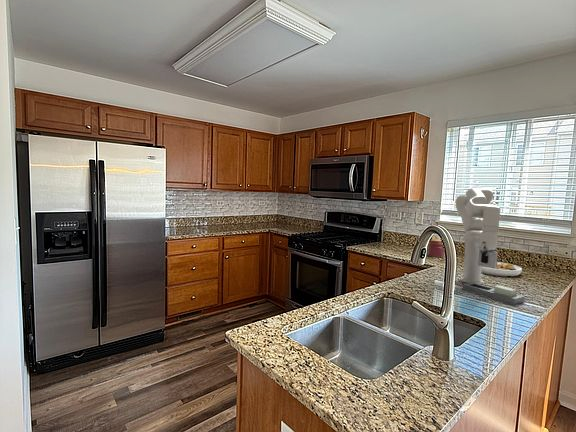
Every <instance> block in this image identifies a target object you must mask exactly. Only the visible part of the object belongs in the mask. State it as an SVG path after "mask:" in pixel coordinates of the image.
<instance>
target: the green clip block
mask: <svg viewBox="0 0 576 432" xmlns="http://www.w3.org/2000/svg"><path fill="white" fill-rule="evenodd" d="M493 288H494V292H495V293H499V294H502V295H506V296H510V297H515V296H516V294H517V289H514V288H511V287H508V286H507V287H506V286H504V285H499V284H498V285H495V286H494V287H493Z"/></svg>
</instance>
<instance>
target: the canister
mask: <svg viewBox="0 0 576 432" xmlns="http://www.w3.org/2000/svg"><path fill="white" fill-rule="evenodd" d="M440 239H441V238H440ZM440 239H439V236H437V235H436V236H435V237H432V240H431V241H430V240H429V241H430V243H428V245H429V246H428V245H427V256H428V257H430V256H433V257H432V258H437V257H442V258H445V248H444V249H443V245H442V242H441V240H440Z"/></svg>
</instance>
